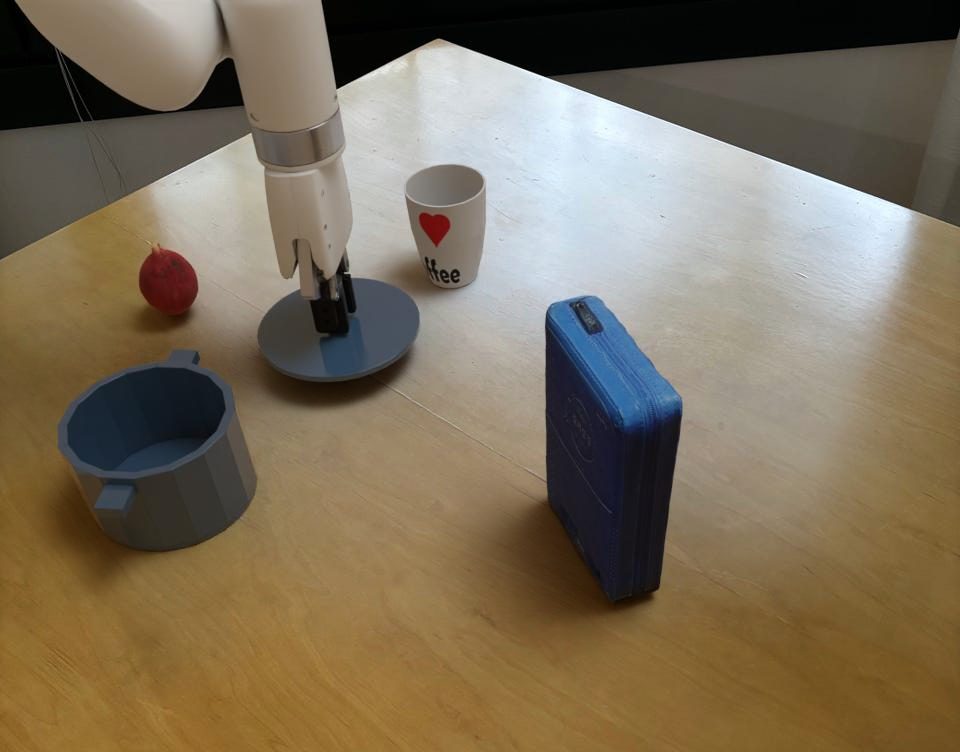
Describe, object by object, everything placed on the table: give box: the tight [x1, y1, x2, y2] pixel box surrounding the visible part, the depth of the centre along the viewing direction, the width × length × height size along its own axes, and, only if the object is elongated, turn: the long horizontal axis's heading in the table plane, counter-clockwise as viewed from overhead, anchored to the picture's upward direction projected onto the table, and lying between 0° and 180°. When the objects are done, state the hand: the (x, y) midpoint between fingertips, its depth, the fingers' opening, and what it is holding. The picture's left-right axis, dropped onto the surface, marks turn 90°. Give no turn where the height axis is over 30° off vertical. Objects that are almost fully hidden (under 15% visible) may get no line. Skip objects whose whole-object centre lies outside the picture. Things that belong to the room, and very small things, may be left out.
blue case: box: [544, 294, 684, 605], centre depth 80 cm, size 14×5×20 cm, turn 21°
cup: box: [403, 163, 487, 289], centre depth 110 cm, size 8×8×10 cm
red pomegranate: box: [138, 242, 199, 316], centre depth 109 cm, size 6×6×8 cm
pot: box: [57, 348, 258, 552], centre depth 92 cm, size 15×20×8 cm
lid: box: [256, 273, 421, 383], centre depth 102 cm, size 16×16×6 cm
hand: (336, 320), depth 103 cm, fingers closed on lid, 2 cm apart
